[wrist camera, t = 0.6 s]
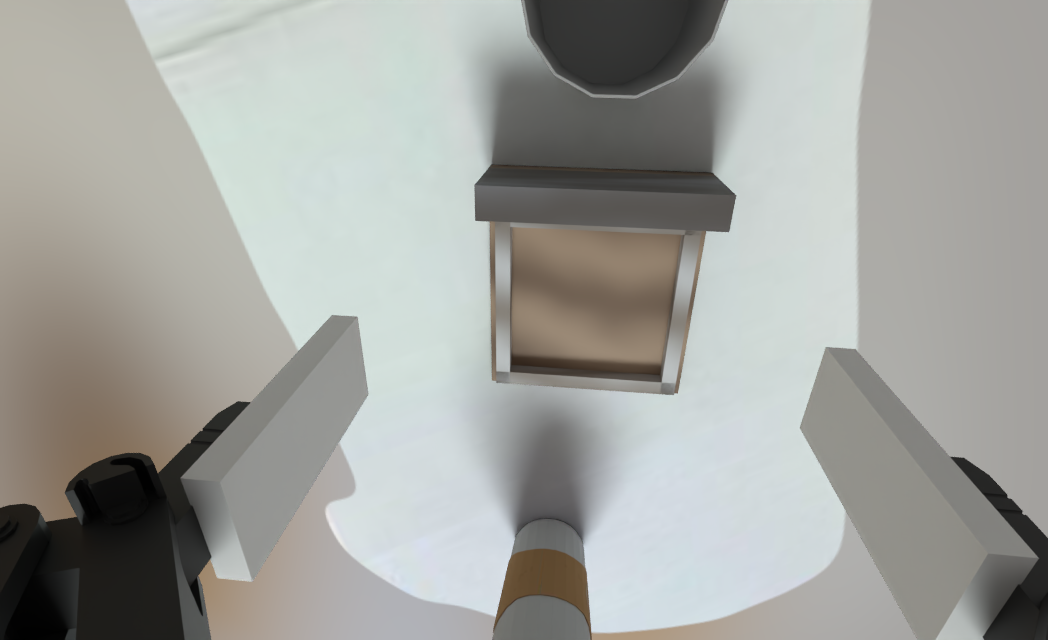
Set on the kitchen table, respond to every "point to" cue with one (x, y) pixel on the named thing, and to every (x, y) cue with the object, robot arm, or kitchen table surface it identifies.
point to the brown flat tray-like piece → (595, 272)
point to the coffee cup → (545, 586)
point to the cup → (621, 41)
